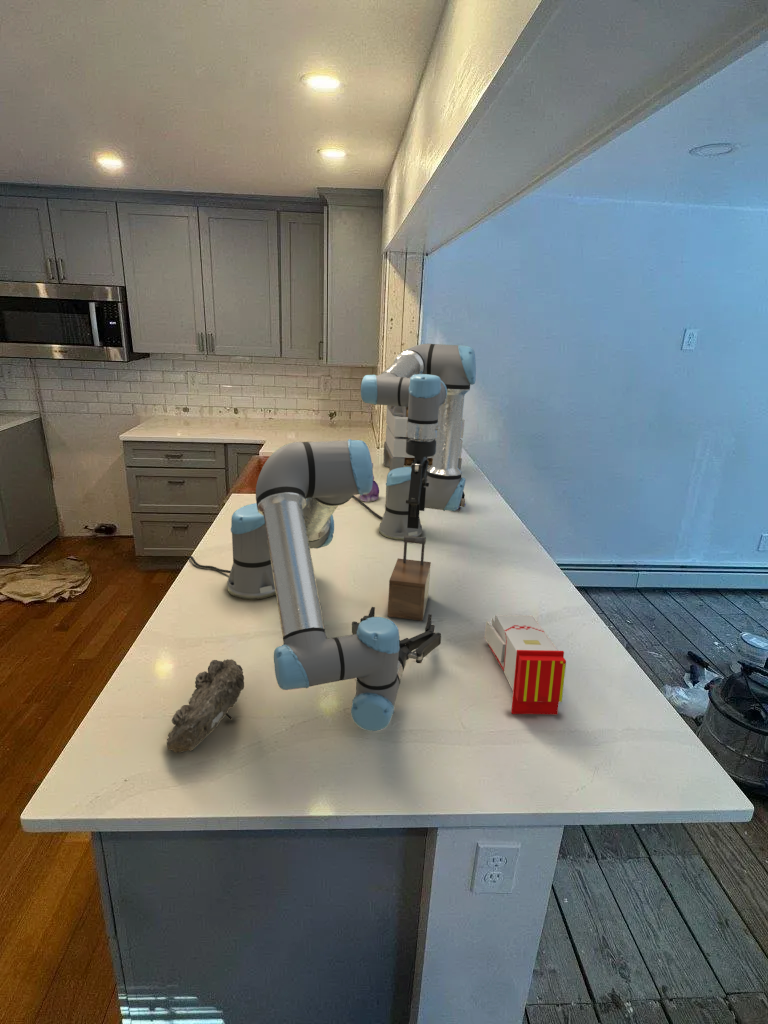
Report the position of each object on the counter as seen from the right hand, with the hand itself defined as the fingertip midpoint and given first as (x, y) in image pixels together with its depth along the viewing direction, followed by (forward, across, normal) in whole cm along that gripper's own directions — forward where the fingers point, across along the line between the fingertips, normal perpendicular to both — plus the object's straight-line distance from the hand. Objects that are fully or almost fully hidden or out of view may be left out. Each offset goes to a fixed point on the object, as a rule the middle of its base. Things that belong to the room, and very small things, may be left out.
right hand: (416, 518), depth 148 cm
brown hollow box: (+23, -5, 0) cm, 24 cm away
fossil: (+23, -57, +31) cm, 68 cm away
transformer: (+23, +126, +13) cm, 129 cm away
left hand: (+17, -21, 0) cm, 27 cm away
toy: (+23, -28, -28) cm, 46 cm away
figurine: (+23, +80, +28) cm, 88 cm away
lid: (+14, -5, 0) cm, 15 cm away
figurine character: (+23, +81, -7) cm, 85 cm away
